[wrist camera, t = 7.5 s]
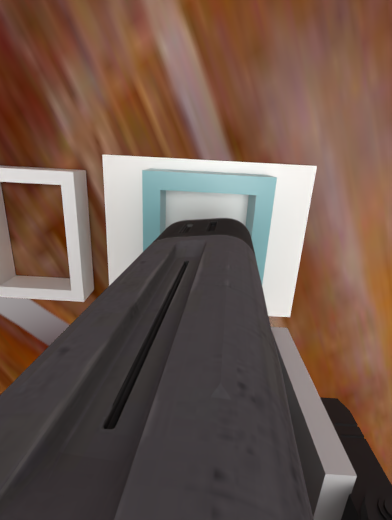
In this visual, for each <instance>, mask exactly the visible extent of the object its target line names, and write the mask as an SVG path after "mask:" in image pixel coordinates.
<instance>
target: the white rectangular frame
mask: <svg viewBox="0 0 392 520" xmlns="http://www.w3.org/2000/svg"><path fill="white" fill-rule="evenodd" d="M1 182H17V183H35V184H54V185H61V190H62V200H63V210H64V221H65V231H66V241H67V251H68V261H69V271H70V278H56V277H38V276H20V275H16V273H15V267H14V261H13V255H12V249H11V243H10V236H9V230H8V224H7V218H6V212H5V206H4V200H3V194H2V188H1ZM93 290H94V279H93V265H92V251H91V237H90V223H89V209H88V195H87V180H86V170H73V169H54V168H36V167H17V166H0V297H10V298H26V299H44V300H61V301H79V302H84V301H85V300H86V299H87V298H88V296H89V295H90V294H91V293H92V292H93Z"/></svg>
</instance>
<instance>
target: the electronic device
mask: <svg viewBox="0 0 392 520" xmlns="http://www.w3.org/2000/svg"><path fill="white" fill-rule="evenodd" d="M0 520H314V519H313V515H312V511H311V506H310V502H309V497H308V493H307V489H306V484H305V480H304V476H303V471H302V467H301V462H300V458H299V454H298V449H297V445H296V440H295V436H294V431H293V426H292V420H291V415H290V410H289V405H288V400H287V395H286V390H285V384H284V379H283V374H282V369H281V365H280V361H279V357H278V354H277V350H276V346H275V342H274V338H273V334H272V331H271V326H270V322H269V317H268V312H267V307H266V302H265V297H264V293H263V288H262V283H261V279H260V275H259V270H258V266H257V261H256V256H255V252H254V247H253V243H252V239H251V235H250V232H249V231H248V229H247V227H246V226H245V225H244V224H243V223H241V222H240V221H238V220H235V219H232V218H211V219H194V220H182V221H178V222H175V223H173V224H171V225H170V226H168V227H167V228H166V229H165V230H164V231H163V232H162V233H161V234H160V235H159V236H158V237H157V238H156V239H155V240H154V241H153V242H152V243H151V244H150V246H148V247H147V248H146V249H145V250H144V251H143V252H142V253H141V254H140V255H139V256H138V257H137V258H136V259H135V261H134V262H133V263H132V264H131V265H130V266H129V267H128V268H127V269H126V270H125V271H124V272H123V273H122V274H121V275H120V276H119V277H118V278H117V279H116V280H115V281H114V282H113V283H112V284H111V285H110V286H109V287H108V288H107V289H106V290H105V291H104V292H103V293H102V294H101V295H100V296H99V297H98V298H97V299H96V300H95V301H94V302H93V303H92V304H91V305H90V306H89V307H88V308H87V309H86V310H85V311H84V312H83V313H82V314H81V315H80V316H79V317H78V318H77V319H76V320H75V321H74V322H73V323H72V324H71V325H70V326H69V327H68V328H67V329H66V330H65V331H64V332H63V333H62V334H61V335H60V336H59V337H58V338H57V339H56V340H55V341H54V342H53V343H52V344H51V345H50V346H49V347H48V348H47V349H46V350H45V351H44V352H43V353H42V354H41V355H40V356H39V357H38V358H37V359H36V360H35V361H34V362H33V363H32V364H31V365H30V366H29V367H28V368H27V369H26V370H25V371H24V372H23V373H22V374H21V375H20V376H19V377H18V378H17V379H16V380H15V381H14V382H13V383H12V384H11V385H10V386H9V387H8V388H7V389H6V390H5V391H4V392H3V393H2V394H1V395H0Z"/></svg>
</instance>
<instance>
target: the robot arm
mask: <svg viewBox="0 0 392 520" xmlns="http://www.w3.org/2000/svg"><path fill="white" fill-rule="evenodd" d="M271 331H272V334H273V338H274V342H275V346H276V350H277V354H278V357H279V361H280V365H281V369H282V374H283V379H284V384H285V390H286V395H287V400H288V405H289V410H290V415H291V420H292V426H293V431H294V436H295V440H296V445H297V449H298V454H299V458H300V462H301V467H302V471H303V476H304V480H305V484H306V489H307V493H308V497H309V502H310V506H311V511H312V515H313V519H314V520H392V485H391V483H390V482H389V480H388V478H387V476H386V475H385V473H384V471H383V469H382V467H381V466H380V464H379V462H378V460H377V459H376V457H375V455H374V453H373V451H372V450H371V448H370V446H369V444H368V443H367V441H366V439H364V436H363V434H362V432H361V430H360V428H359V427H357V423H356V421H355V420H354V418H353V416H352V414H351V412H350V411H349V410H348V409H347V408H346V407H345V406H344V405H343V404H342V403H341V402H340V401H339V400H338V399H335V398H320V397H319V395H318V392H317V390H316V388H315V386H314V384H313V382H312V380H311V378H310V375H309V373H308V371H307V369H306V367H305V365H304V363H303V361H302V359H301V356H300V354H299V352H298V350H297V348H296V346H295V344H294V342H293V339H292V337H291V335H290V333H289V331H288V329H287V328H280V327H271Z"/></svg>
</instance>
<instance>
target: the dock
mask: <svg viewBox="0 0 392 520" xmlns="http://www.w3.org/2000/svg"><path fill="white" fill-rule="evenodd" d="M102 156H103V176H104V195H105V214H106V233H107V253H108V272H109V286H110V285H111V284H112V283H113V282H114V281H115V280H116V279H117V278H118V277H119V276H120V275H121V274H122V273H123V272H124V271H125V270H126V269H127V268H128V267H129V266H130V265H131V264H132V263H133V262H134V261H135V259H136V258H137V257H138V256H139V255H140V254H141V253H142V252H143V251H144V250H145V249H146V248H147V247H148V246H150V244H151V243H152V242H153V241H154V240H155V239H156V238H157V237H158V236H159V235H160V234H161V233H162V232H163V231H164V230H165V229H166V228H167V227H168V226H170V225H171V224H173V223H175V222H178V221H182V220H194V219H211V218H232V219H235V220H238V221H240V222H241V223H243V224H244V225H245V226H246V227H247V229H248V231H249V232H250V235H251V239H252V243H253V247H254V252H255V256H256V261H257V266H258V270H259V275H260V279H261V283H262V288H263V293H264V297H265V302H266V307H267V312H268V316H279V317H290V314H291V308H292V303H293V297H294V291H295V286H296V280H297V275H298V269H299V263H300V258H301V252H302V247H303V241H304V235H305V230H306V224H307V219H308V213H309V207H310V202H311V196H312V191H313V185H314V179H315V174H316V168H317V166H308V165H290V164H271V163H252V162H234V161H215V160H197V159H178V158H159V157H141V156H122V155H102Z"/></svg>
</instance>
